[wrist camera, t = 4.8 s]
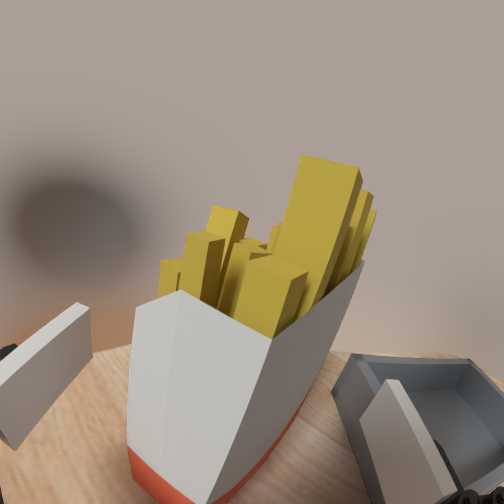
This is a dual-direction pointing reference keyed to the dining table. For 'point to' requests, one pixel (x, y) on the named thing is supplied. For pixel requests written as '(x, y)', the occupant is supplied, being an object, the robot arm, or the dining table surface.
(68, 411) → the dining table surface
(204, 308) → the french fries container
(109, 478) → the dining table surface
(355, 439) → the tray
